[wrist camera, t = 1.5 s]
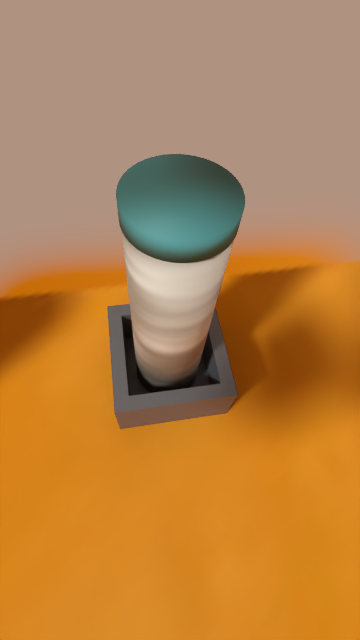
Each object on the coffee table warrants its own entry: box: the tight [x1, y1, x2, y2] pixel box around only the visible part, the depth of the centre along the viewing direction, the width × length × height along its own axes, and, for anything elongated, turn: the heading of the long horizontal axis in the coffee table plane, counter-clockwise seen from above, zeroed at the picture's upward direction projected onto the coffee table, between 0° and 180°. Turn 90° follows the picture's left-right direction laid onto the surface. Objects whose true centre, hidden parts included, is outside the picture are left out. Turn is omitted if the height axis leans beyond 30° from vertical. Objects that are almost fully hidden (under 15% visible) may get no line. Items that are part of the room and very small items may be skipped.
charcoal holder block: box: [108, 304, 238, 429], centre depth 22 cm, size 7×7×4 cm
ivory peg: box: [116, 154, 245, 393], centre depth 17 cm, size 4×4×14 cm
